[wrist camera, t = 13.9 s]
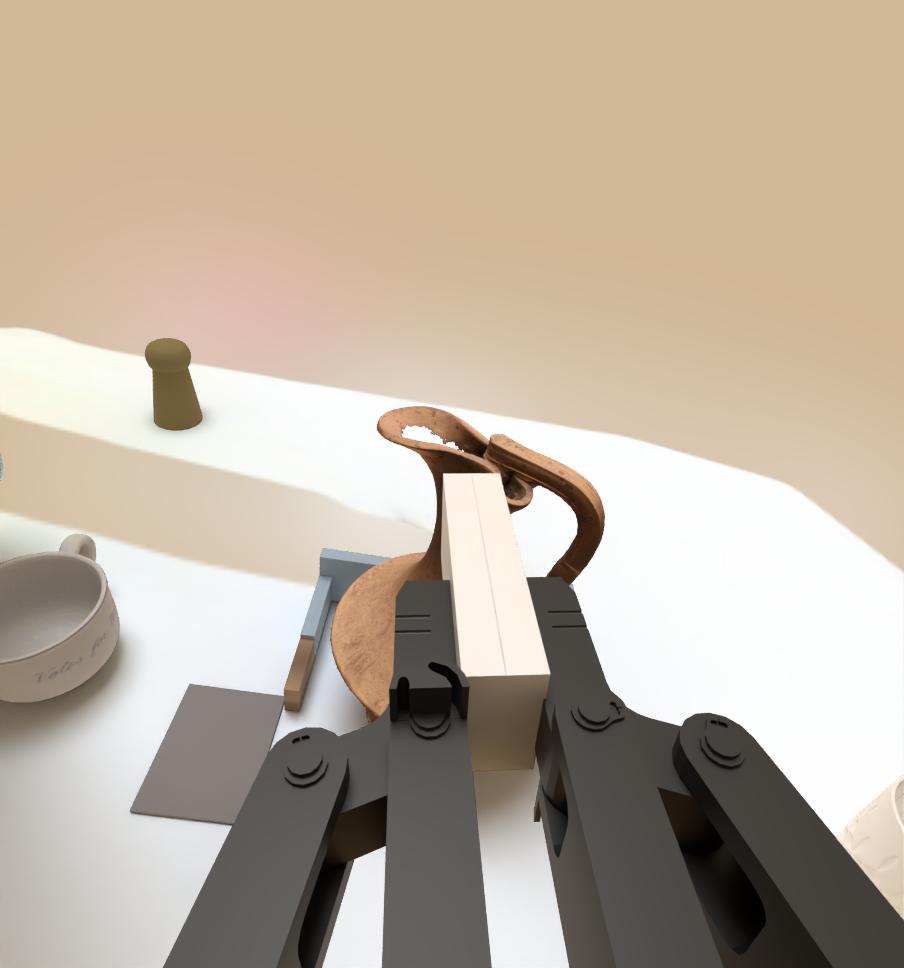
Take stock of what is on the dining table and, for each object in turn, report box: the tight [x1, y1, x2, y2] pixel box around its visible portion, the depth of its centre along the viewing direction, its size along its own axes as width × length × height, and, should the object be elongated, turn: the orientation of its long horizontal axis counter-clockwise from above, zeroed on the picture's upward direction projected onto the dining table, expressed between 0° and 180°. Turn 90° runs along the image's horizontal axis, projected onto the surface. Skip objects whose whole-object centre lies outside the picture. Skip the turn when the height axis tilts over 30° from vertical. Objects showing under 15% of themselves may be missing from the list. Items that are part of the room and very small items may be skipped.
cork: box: [145, 338, 202, 430], centre depth 74 cm, size 6×6×11 cm
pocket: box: [301, 548, 574, 659], centre depth 54 cm, size 8×24×6 cm, turn 87°
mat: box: [130, 684, 284, 825], centre depth 44 cm, size 10×8×1 cm
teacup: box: [0, 534, 120, 703], centre depth 47 cm, size 14×11×8 cm
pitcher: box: [330, 406, 605, 724], centre depth 41 cm, size 18×17×28 cm
